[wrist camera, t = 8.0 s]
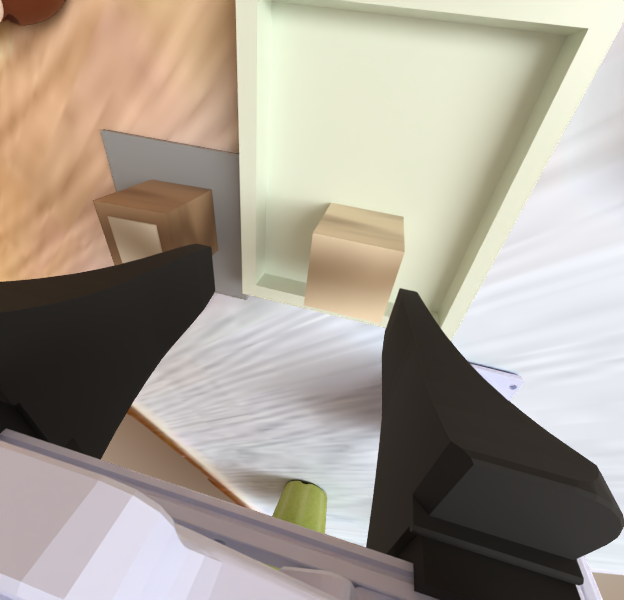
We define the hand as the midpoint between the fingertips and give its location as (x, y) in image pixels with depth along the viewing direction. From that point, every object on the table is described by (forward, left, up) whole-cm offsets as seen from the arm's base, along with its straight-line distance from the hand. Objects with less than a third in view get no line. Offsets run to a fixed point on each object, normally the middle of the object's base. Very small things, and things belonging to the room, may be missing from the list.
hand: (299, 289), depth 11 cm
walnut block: (-3, +11, -10) cm, 15 cm away
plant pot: (-41, -2, -10) cm, 42 cm away
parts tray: (+2, -2, -10) cm, 10 cm away
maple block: (-2, -2, -10) cm, 10 cm away
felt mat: (-3, +11, -10) cm, 15 cm away
